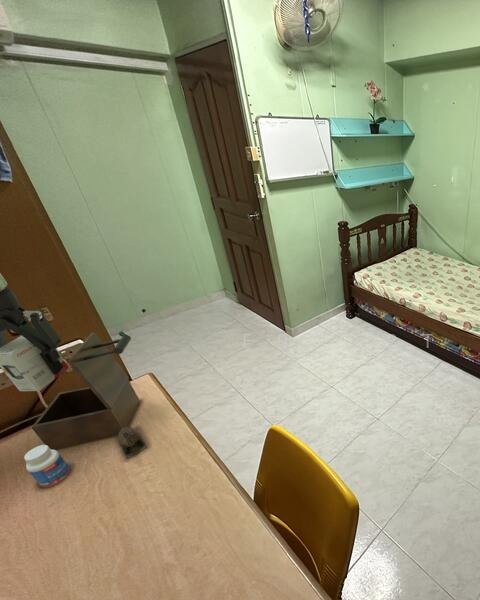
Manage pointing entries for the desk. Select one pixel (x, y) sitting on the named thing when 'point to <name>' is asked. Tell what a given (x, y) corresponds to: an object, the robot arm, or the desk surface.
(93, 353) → the lid
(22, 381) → the ink box
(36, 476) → the pill bottle
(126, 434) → the figurine
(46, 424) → the chest
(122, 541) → the desk surface
